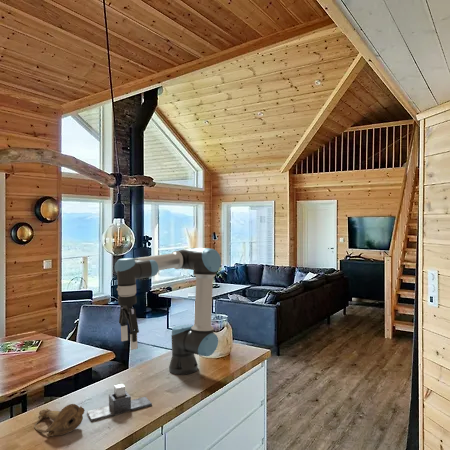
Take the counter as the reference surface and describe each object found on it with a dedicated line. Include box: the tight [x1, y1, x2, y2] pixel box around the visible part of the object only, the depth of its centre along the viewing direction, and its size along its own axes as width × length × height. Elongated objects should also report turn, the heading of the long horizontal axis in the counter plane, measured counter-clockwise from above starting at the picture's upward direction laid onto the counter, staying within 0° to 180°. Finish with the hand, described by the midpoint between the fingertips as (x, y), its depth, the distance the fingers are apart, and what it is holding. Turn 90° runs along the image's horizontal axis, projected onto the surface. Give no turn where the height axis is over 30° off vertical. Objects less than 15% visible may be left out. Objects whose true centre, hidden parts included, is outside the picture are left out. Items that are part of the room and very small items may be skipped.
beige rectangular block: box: [113, 383, 126, 399], centre depth 171 cm, size 4×4×10 cm
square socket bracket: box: [86, 389, 153, 423], centre depth 170 cm, size 25×8×6 cm, turn 121°
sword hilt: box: [33, 403, 85, 437], centre depth 159 cm, size 10×24×15 cm
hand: (129, 344), depth 172 cm, fingers open, 13 cm apart
